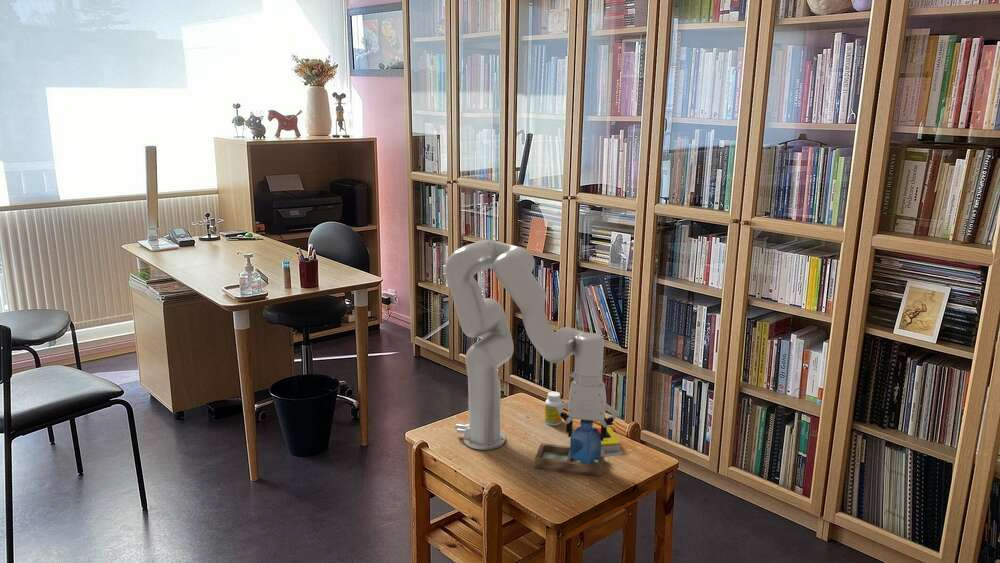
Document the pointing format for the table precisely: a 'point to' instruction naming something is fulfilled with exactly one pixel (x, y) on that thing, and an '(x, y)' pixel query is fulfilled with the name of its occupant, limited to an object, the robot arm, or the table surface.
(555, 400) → the supplement bottle
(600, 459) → the organizer
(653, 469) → the table surface
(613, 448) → the emergency button
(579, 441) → the perfume bottle
